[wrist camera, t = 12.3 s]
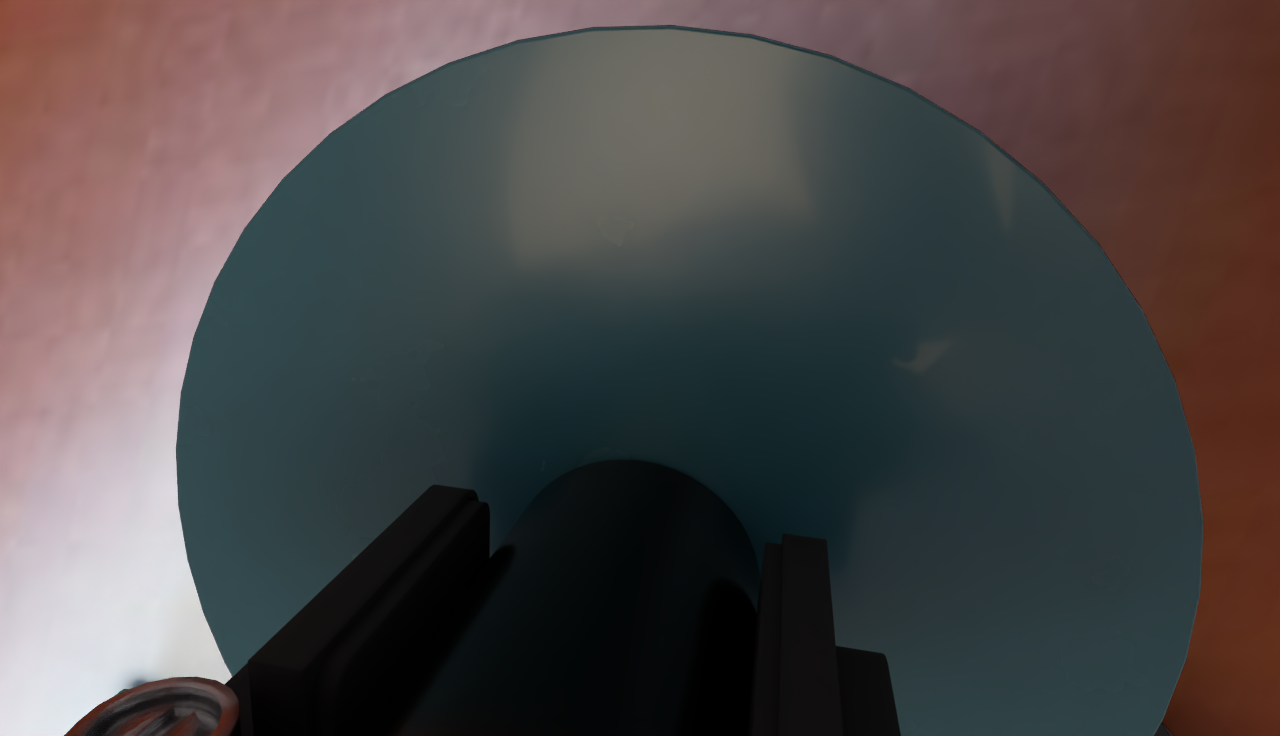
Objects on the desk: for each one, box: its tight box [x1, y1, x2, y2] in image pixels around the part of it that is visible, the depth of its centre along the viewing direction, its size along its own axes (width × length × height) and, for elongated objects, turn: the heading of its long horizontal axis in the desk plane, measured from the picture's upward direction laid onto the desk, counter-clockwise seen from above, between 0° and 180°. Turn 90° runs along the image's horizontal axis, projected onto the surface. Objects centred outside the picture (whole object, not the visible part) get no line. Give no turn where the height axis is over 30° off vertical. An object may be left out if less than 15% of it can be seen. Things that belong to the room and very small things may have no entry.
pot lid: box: [176, 25, 1204, 736], centre depth 9 cm, size 15×15×8 cm
